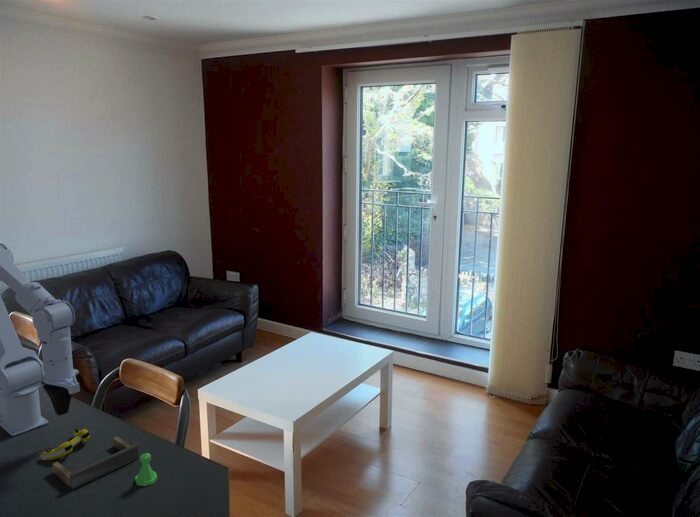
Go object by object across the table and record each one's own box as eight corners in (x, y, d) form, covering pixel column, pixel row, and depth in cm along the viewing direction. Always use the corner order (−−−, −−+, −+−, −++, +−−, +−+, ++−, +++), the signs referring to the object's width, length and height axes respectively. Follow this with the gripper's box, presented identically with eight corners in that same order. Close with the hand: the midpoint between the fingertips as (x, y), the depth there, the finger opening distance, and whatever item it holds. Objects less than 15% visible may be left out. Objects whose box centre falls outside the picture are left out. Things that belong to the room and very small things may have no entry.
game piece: (137, 474, 109) (136, 448, 108) (159, 472, 110) (158, 446, 109) (132, 487, 105) (131, 460, 104) (155, 485, 106) (154, 458, 105)
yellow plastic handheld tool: (66, 461, 111) (60, 446, 111) (44, 466, 113) (37, 452, 113) (98, 437, 121) (93, 423, 120) (77, 442, 123) (71, 429, 122)
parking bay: (53, 472, 109) (51, 459, 108) (117, 444, 120) (116, 432, 119) (72, 489, 104) (71, 475, 103) (138, 458, 115) (137, 446, 114)
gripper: (91, 360, 115) (95, 417, 118) (60, 343, 124) (65, 397, 126) (58, 370, 110) (63, 429, 112) (28, 352, 118) (33, 407, 121)
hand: (62, 413), depth 119 cm, fingers closed
